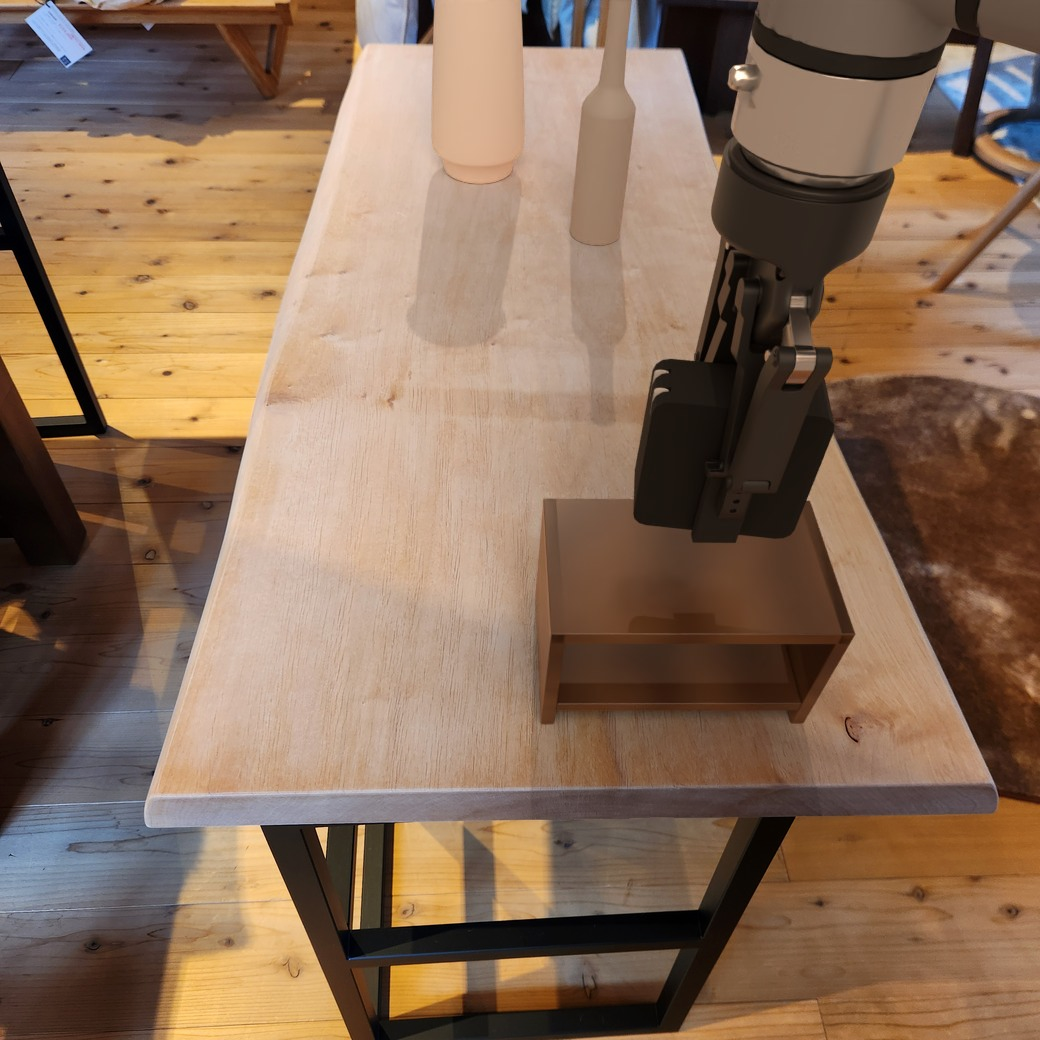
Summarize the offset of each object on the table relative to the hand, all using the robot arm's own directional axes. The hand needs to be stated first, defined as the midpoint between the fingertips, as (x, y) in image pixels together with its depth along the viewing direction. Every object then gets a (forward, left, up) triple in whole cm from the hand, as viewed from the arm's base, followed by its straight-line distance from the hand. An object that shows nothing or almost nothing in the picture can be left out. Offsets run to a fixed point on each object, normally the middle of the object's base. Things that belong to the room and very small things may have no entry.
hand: (706, 506), depth 55 cm
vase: (+67, -50, -18) cm, 86 cm away
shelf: (0, 0, -18) cm, 18 cm away
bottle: (+44, -48, -18) cm, 67 cm away
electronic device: (0, 0, 0) cm, 1 cm away
